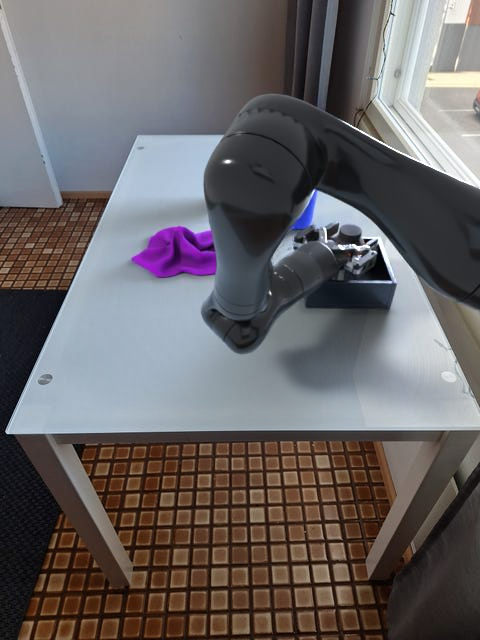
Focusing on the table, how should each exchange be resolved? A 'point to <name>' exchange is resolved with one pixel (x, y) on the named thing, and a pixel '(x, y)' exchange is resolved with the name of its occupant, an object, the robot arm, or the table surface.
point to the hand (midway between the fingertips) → (356, 234)
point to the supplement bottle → (348, 236)
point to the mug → (306, 214)
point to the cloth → (178, 253)
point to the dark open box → (359, 287)
